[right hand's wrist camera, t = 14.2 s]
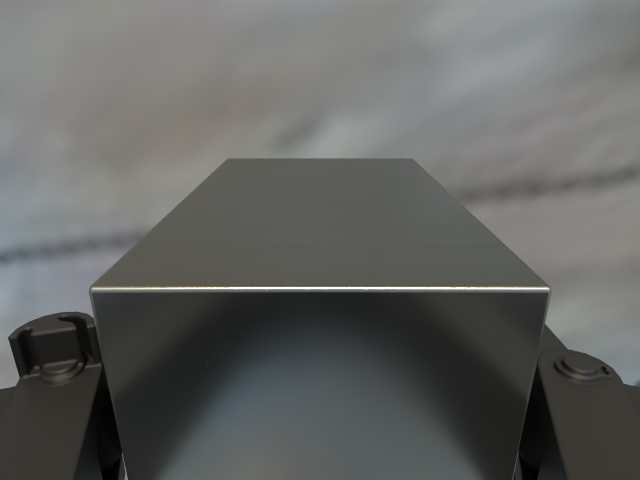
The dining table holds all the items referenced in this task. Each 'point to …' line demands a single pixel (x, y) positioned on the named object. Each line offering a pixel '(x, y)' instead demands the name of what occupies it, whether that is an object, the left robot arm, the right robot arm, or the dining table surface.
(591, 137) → the dining table surface
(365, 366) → the box
